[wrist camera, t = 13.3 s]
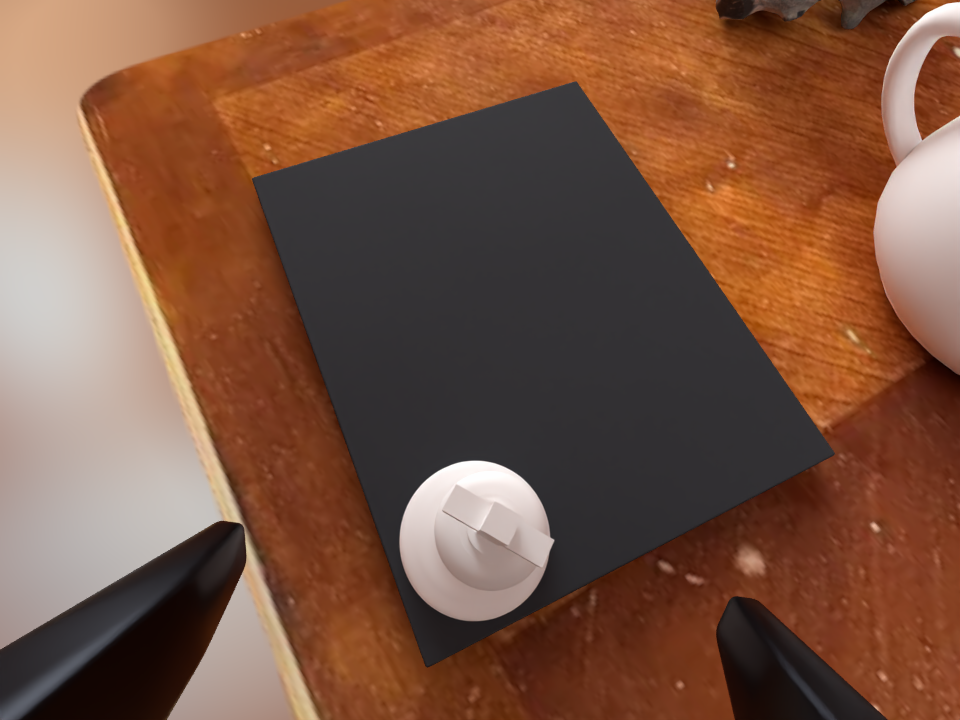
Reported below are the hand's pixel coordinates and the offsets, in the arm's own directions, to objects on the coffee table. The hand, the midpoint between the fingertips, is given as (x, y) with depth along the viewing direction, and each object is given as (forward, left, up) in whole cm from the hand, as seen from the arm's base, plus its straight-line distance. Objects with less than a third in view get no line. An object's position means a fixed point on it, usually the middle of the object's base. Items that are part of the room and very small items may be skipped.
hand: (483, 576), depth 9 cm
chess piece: (0, +1, -7) cm, 8 cm away
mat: (+6, +8, -8) cm, 13 cm away
